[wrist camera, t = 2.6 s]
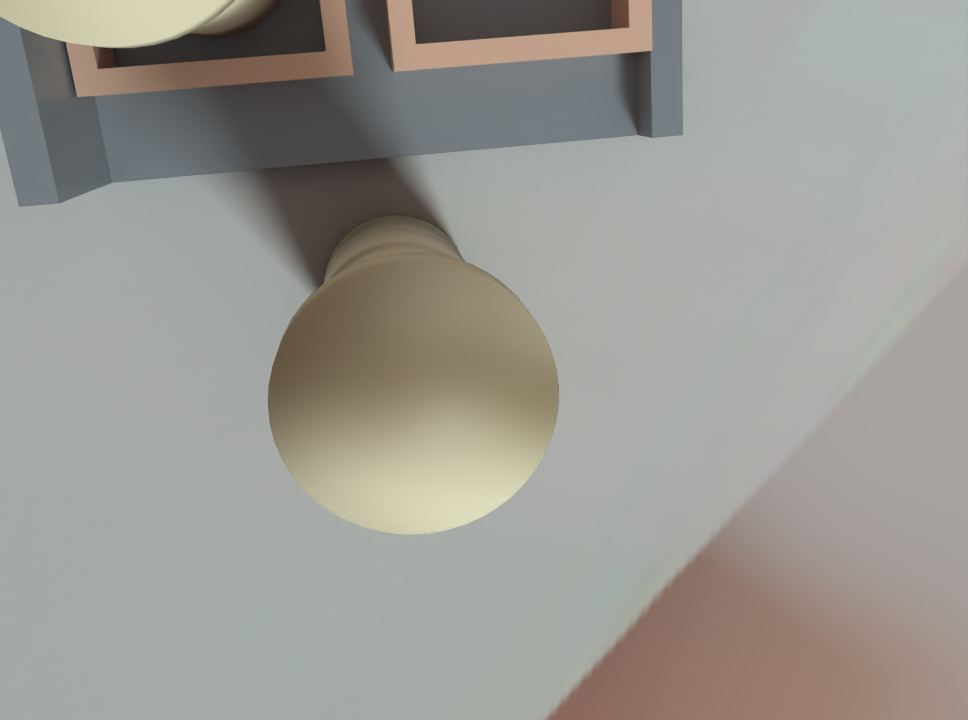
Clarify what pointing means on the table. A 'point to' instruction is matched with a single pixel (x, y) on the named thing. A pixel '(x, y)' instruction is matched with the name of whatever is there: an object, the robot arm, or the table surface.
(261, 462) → the table surface
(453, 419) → the cream pawn-shaped knob
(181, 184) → the table surface
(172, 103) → the housing
